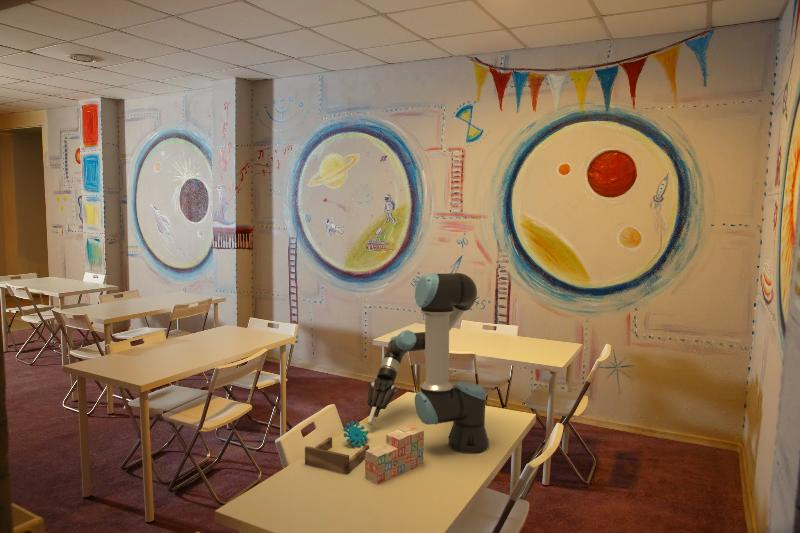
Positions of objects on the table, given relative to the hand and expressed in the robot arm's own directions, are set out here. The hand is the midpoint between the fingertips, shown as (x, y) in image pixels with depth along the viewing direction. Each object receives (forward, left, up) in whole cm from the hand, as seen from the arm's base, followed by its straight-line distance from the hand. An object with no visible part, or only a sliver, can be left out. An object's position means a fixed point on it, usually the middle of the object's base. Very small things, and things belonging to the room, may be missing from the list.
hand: (370, 423), depth 210 cm
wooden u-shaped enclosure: (-10, +23, -4) cm, 26 cm away
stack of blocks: (-29, +15, -4) cm, 33 cm away
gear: (-4, +10, -4) cm, 12 cm away
